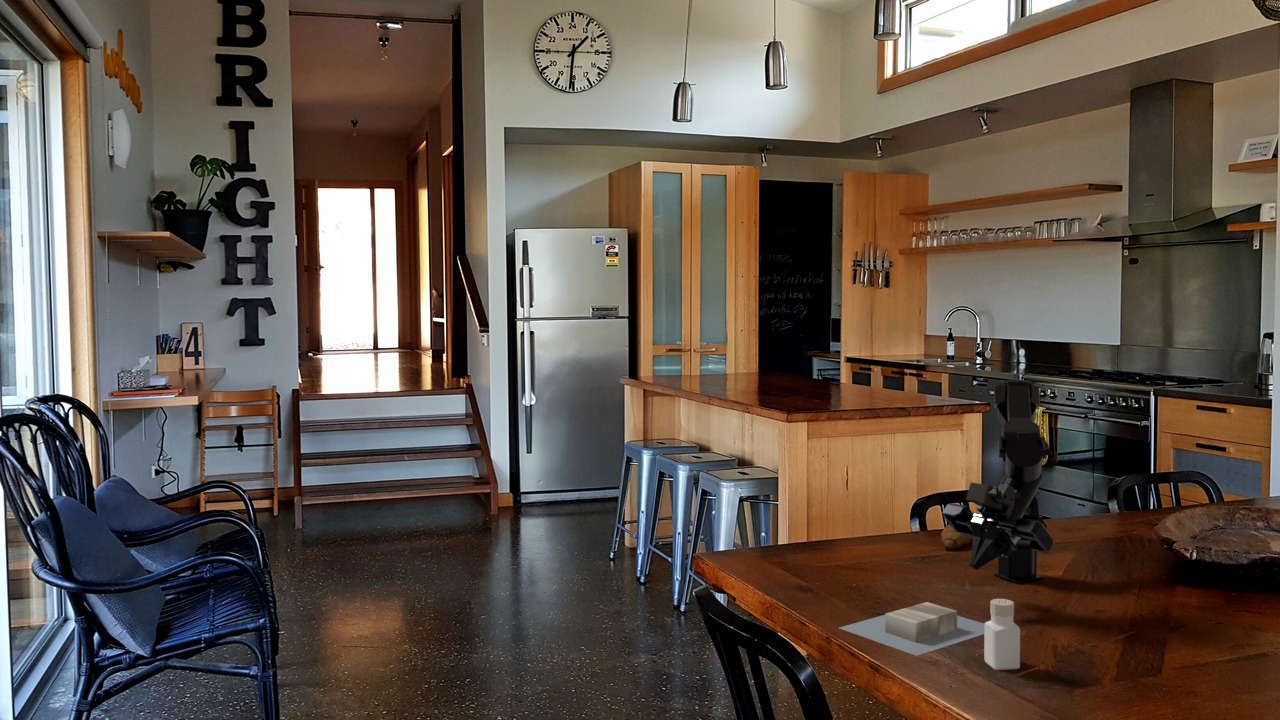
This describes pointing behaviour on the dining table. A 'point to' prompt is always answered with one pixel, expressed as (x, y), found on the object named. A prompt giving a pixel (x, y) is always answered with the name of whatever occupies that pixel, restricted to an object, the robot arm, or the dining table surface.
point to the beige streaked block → (921, 621)
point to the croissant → (954, 538)
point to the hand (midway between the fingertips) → (972, 568)
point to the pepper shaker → (1002, 637)
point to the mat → (876, 632)
